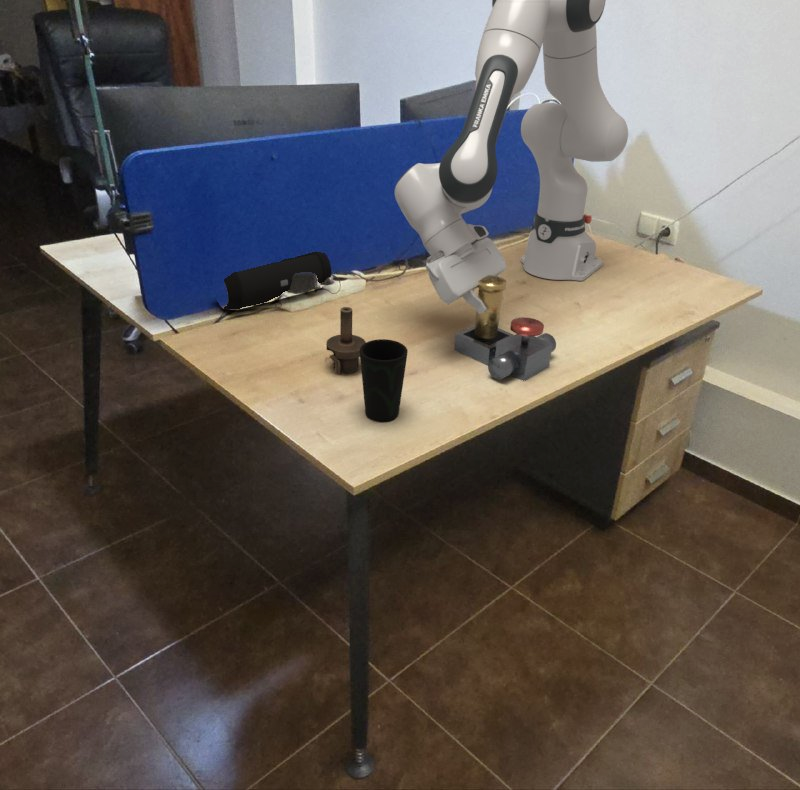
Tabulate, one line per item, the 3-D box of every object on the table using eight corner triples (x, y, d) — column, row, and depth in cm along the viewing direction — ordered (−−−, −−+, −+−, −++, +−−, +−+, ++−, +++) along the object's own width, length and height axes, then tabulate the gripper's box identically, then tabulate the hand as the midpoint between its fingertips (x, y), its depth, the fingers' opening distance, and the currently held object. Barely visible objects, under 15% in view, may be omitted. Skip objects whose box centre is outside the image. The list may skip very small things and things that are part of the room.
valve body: (492, 332, 146) (497, 291, 142) (560, 360, 137) (567, 318, 132) (441, 355, 137) (444, 313, 132) (510, 388, 127) (516, 343, 122)
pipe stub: (483, 325, 140) (489, 273, 135) (505, 334, 137) (512, 281, 131) (466, 332, 137) (471, 279, 131) (488, 342, 134) (494, 288, 128)
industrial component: (336, 381, 127) (335, 321, 120) (318, 364, 132) (317, 305, 126) (381, 370, 131) (382, 310, 125) (363, 353, 136) (363, 296, 130)
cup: (351, 419, 116) (351, 355, 110) (369, 397, 122) (370, 335, 116) (395, 430, 114) (397, 364, 108) (411, 407, 120) (414, 344, 114)
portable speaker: (232, 320, 147) (228, 275, 142) (211, 304, 154) (206, 261, 149) (334, 294, 161) (333, 252, 156) (310, 280, 168) (309, 239, 163)
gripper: (433, 250, 124) (476, 316, 124) (489, 224, 138) (527, 283, 139) (411, 269, 128) (452, 332, 128) (467, 241, 143) (504, 298, 143)
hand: (492, 306), depth 134 cm, fingers closed on pipe stub, 4 cm apart
